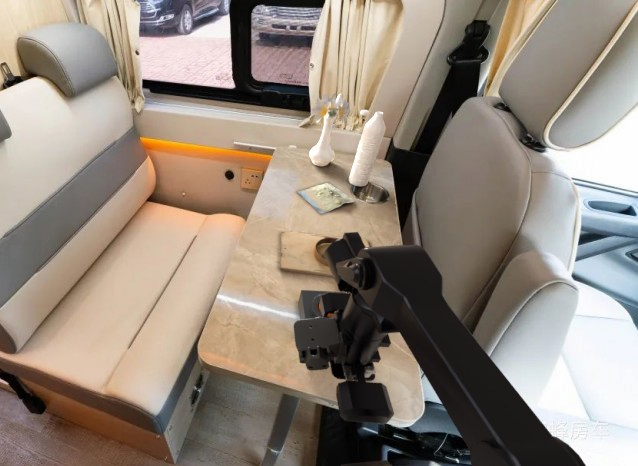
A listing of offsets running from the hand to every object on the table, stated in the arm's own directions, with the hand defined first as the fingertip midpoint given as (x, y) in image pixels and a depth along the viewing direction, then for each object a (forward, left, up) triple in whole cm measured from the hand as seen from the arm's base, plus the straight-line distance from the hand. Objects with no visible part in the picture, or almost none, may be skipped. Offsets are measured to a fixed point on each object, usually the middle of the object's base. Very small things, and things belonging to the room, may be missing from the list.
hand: (338, 375), depth 53 cm
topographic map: (+43, -52, -12) cm, 69 cm away
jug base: (+11, -13, -12) cm, 21 cm away
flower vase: (+60, -69, -12) cm, 92 cm away
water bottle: (+43, -68, -12) cm, 81 cm away
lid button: (+11, -13, -5) cm, 18 cm away
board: (+25, -31, -12) cm, 42 cm away
